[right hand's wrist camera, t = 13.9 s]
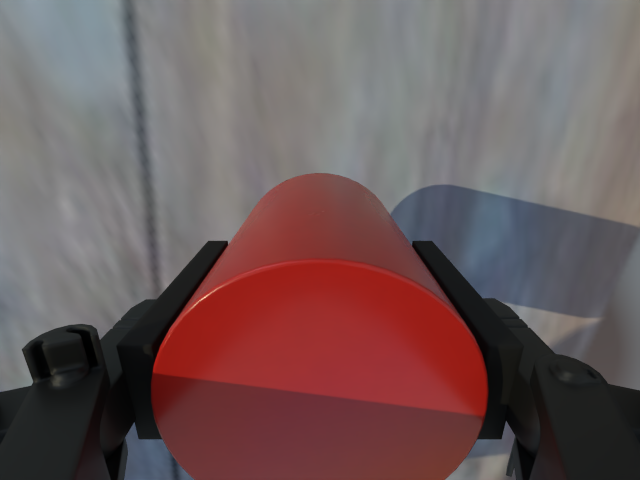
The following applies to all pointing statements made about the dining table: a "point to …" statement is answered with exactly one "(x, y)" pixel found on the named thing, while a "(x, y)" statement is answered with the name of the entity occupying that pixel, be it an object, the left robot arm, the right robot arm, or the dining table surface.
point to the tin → (319, 351)
